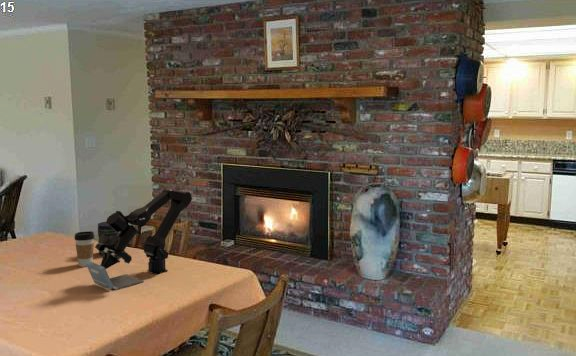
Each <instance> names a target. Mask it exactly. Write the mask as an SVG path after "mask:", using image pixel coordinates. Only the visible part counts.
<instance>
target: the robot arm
mask: <svg viewBox="0 0 576 356" xmlns="http://www.w3.org/2000/svg"><path fill="white" fill-rule="evenodd" d="M192 200H193V198H192V194H191V193H190V192H189V191H183V190H175V191H174V189H167V188H165V189H163V190H162V191H161V192H160V193H159V194H158V195H157V196H155V197H154V198H152V200H151V201H149V202H148V203H146V204H145V205H144V206H142V207H140V208H136V209H134V210H132V211H131V212H130V213H129V214H128V215H124V214H123V212H121V211H120V210H116V211H115V212H114V213H111V214H110V215H108V217H107V218H106V221H105V222H106V223H107V224H108V225H109V226H110V227H112V228H113V229H114V230H115V231H116V232H119V234H118V235H117V236H110V237H107V236H103V235H100V238H99V237H98V241H97V244H96V245H94V248H95V249H96V250H98V252H99V251H100V252H101V253H102V254H103V256H102V259H101V262H100V264H99V265H100V266H103V267H105V269H106V270H107V269H109V268H111V267H112V266H114V265H116V264H118V263H120V262H121V261H120V260H121V259H122V260H123V262H124V263H125V264H130V263H131V261H132V260H133V259H132V257H133V256H131V255H130V254H129V253H128V252H127V251H125V250H126V249H127V248H130V247H131V242H132V240H133V239H134V238H135V236H138V237H139V236H140V237H141V235H142V233H141V229H140V228H142V227H145V226H146V225H147V224H148V223H149V222H150V221H151V219H152V216H153V214H155V213H156V212H157V211H158V210H160V209H161V208H162V207H163V206H164V205H165V204H166V203H168V202H169V201H170V208H169V209H168V211H167V213H166V214H165V216H164V218H163V220H162V221H161V222H160V225H159V226H158V228H157V230H156V232H155V234H153V235H147V238H146V240H145V241H144V242H143V247H142V248H143V253H144V254H145V256H146V258H148V264H147V265H148V269H147V271H146V272H148V273H150V274H154V275H159V274H162V273H167V272H168V270H169V269H167V268H166V259H168V258H169V252H168V251H166V249H165V248H166V238H168V235H169V234H170V232H171V230H172V228H173V226H174V225H175V223H176V221H177V220H178V217H179V216H180V214H181V212H182V211H184V210H185V209H186V208H187V207H189V205H190V204H191V203H192ZM137 227H139V228H137Z"/></svg>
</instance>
